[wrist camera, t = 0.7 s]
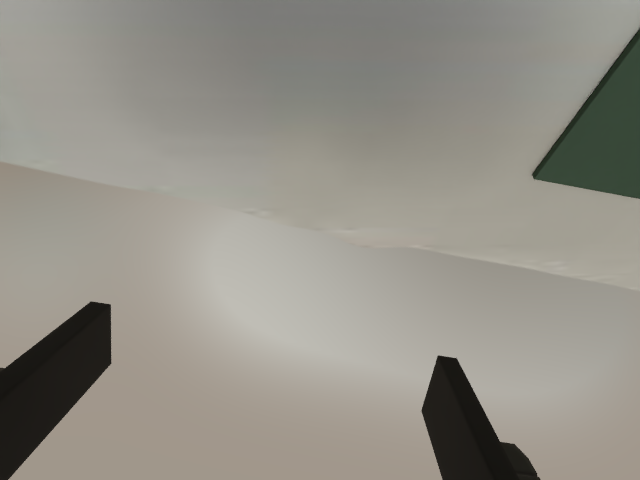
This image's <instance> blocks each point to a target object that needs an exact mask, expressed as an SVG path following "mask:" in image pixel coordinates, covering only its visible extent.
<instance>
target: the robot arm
mask: <svg viewBox="0 0 640 480" xmlns="http://www.w3.org/2000/svg"><path fill="white" fill-rule="evenodd" d="M110 364H111V305H110V304H104V303H97V302H90V303H89V304H87V305H86V306H85V307H83V308H82V309H81V310H80V311H78V312H77V313H76V314H75V315H73V316H72V317H71V318H69V319H68V320H67V321H65V322H64V323H63V324H61V325H60V326H59V327H58V328H56V329H55V330H54V331H52V332H51V333H50V334H49V335H47V336H46V337H45V338H43V339H42V340H41V341H40V342H38V343H37V344H36V345H34V346H33V347H32V348H31V349H29V350H28V351H27V352H25V353H24V354H23V355H21V356H20V357H19V358H18V359H16V360H15V361H14V362H13V363H11V364H10V365H9V366H8V367H6V368H0V480H8V479H9V478H10V477H11V476H12V475H13V474H14V472H15V471H16V470H17V469H18V468H19V467H20V466H21V465H22V463H23V462H24V461H25V460H26V459H27V458H28V457H29V456H30V454H31V453H32V452H33V451H34V450H35V449H36V448H37V447H38V445H39V444H40V443H41V442H42V441H43V440H44V439H45V437H46V436H47V435H48V434H49V433H50V432H51V431H52V430H53V429H54V427H55V426H56V425H57V424H58V423H59V422H60V421H61V420H62V418H63V417H64V416H65V415H66V414H67V413H68V412H69V410H70V409H71V408H72V407H73V406H74V405H75V404H76V403H77V401H78V400H79V399H80V398H81V397H82V396H83V395H84V394H85V392H86V391H87V390H88V389H89V388H90V387H91V385H92V384H93V383H94V382H95V381H96V380H97V379H98V378H99V377H100V376H101V374H102V373H103V372H104V371H105V369H107V368H108V366H109V365H110ZM422 414H423V417H424V420H425V423H426V427H427V430H428V433H429V436H430V440H431V443H432V446H433V450H434V453H435V456H436V459H437V463H438V466H439V469H440V472H441V476H442V479H443V480H540V478H539V477H537V473H536V471H535V469H534V468H533V466H532V464H531V462H530V461H529V459H528V458H527V457H526V456H525V455H524V454H523V453H522V451H521V450H520V449H519V448H518V447H517V446H516V445H515V444H510V443H503V442H500V441H499V439H498V437H497V435H496V433H495V432H494V429H493V428H492V425H491V424H490V422H489V420H488V418H487V416H486V414H485V412H484V410H483V408H482V406H481V404H480V402H479V401H478V399H477V397H476V395H475V393H474V391H473V389H472V387H471V385H470V383H469V381H468V379H467V377H466V375H465V373H464V372H463V370H462V368H461V366H460V364H459V362H458V360H457V359H456V358H451V357H444V356H438V357H437V360H436V365H435V367H434V371H433V374H432V377H431V381H430V384H429V388H428V391H427V394H426V397H425V401H424V404H423V407H422Z"/></svg>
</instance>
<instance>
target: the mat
mask: <svg viewBox="0 0 640 480" xmlns="http://www.w3.org/2000/svg"><path fill="white" fill-rule="evenodd" d="M533 178H534V179H536V180H542V181H547V182H553V183H558V184H563V185H569V186H574V187H579V188H585V189H590V190H595V191H601V192H606V193H612V194H617V195H622V196H628V197H633V198H638V199H640V30H639V31H638V32H637V34H636V35H635V37H634V38H633V39H632V41H631V42H630V43H629V45H628V46H627V47H626V49H625V50H624V51H623V53H622V54H621V55H620V57H619V58H618V60H617V61H616V62H615V64H614V65H613V66H612V68H611V69H610V70H609V72H608V73H607V74H606V76H605V77H604V78H603V80H602V81H601V83H600V84H599V85H598V87H597V88H596V89H595V91H594V92H593V93H592V95H591V96H590V97H589V99H588V100H587V102H586V103H585V104H584V106H583V107H582V108H581V110H580V111H579V112H578V114H577V115H576V116H575V118H574V119H573V120H572V122H571V123H570V125H569V126H568V127H567V129H566V130H565V131H564V133H563V134H562V135H561V137H560V138H559V139H558V141H557V142H556V144H555V145H554V146H553V148H552V149H551V150H550V152H549V153H548V154H547V156H546V157H545V158H544V160H543V161H542V162H541V164H540V165H539V167H538V168H537V169H536V171H535V172H534V173H533Z"/></svg>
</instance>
